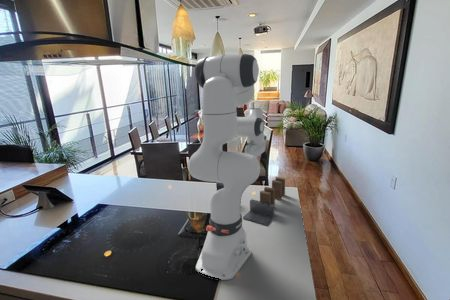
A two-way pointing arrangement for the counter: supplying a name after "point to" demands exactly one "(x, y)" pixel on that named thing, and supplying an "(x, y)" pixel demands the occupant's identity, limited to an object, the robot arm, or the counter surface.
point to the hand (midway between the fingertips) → (255, 163)
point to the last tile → (265, 197)
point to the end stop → (260, 212)
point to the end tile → (282, 184)
